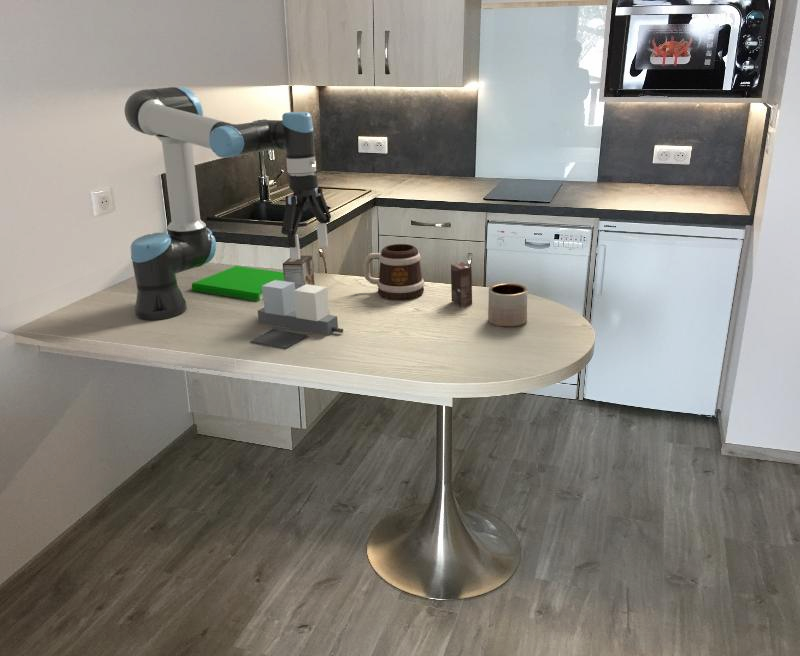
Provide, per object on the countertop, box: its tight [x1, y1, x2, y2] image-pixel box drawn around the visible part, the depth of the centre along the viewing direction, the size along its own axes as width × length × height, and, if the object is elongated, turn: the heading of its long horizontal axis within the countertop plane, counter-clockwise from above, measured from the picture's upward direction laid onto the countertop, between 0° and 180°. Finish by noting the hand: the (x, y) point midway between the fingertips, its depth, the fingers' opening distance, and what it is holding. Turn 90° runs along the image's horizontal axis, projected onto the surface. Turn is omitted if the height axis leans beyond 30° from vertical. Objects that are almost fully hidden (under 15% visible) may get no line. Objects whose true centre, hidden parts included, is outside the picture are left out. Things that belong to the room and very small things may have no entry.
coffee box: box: [282, 254, 316, 290], centre depth 215 cm, size 9×6×16 cm
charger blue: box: [262, 280, 295, 316], centre depth 205 cm, size 7×6×9 cm
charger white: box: [294, 284, 330, 321], centre depth 200 cm, size 7×6×9 cm
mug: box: [362, 243, 425, 301], centre depth 228 cm, size 20×15×15 cm
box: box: [450, 262, 473, 308], centre depth 216 cm, size 6×4×12 cm
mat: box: [249, 328, 309, 350], centre depth 196 cm, size 12×10×1 cm
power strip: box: [257, 307, 344, 336], centre depth 204 cm, size 27×5×4 cm, turn 62°
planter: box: [487, 282, 528, 328], centre depth 202 cm, size 11×11×10 cm
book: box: [191, 265, 284, 302], centre depth 243 cm, size 22×28×3 cm
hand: (309, 252), depth 196 cm, fingers open, 13 cm apart
